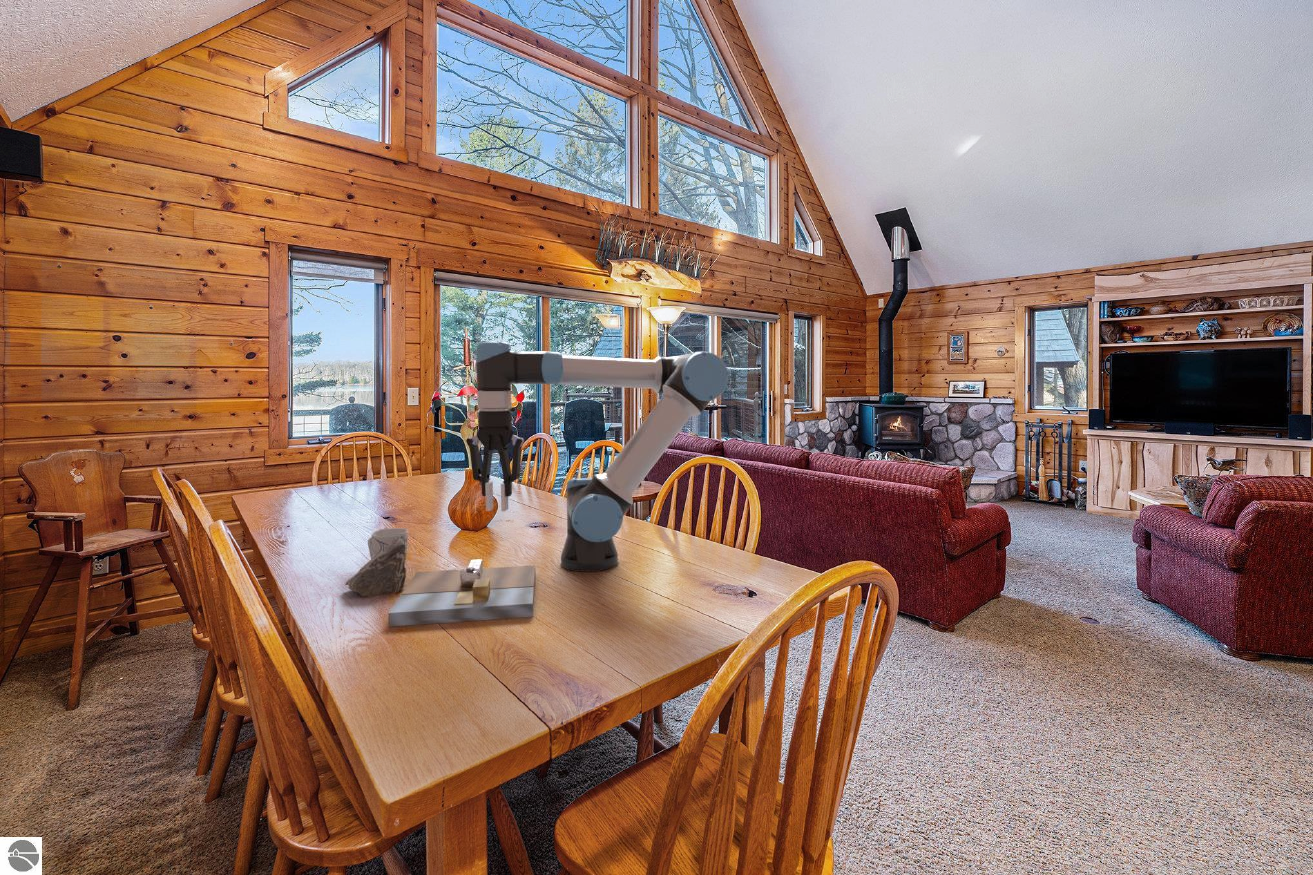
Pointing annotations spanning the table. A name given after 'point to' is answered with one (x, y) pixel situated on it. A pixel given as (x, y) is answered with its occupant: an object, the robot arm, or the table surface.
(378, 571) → the rock
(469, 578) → the latch bar
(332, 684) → the table surface
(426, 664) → the table surface
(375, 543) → the mug
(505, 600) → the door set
